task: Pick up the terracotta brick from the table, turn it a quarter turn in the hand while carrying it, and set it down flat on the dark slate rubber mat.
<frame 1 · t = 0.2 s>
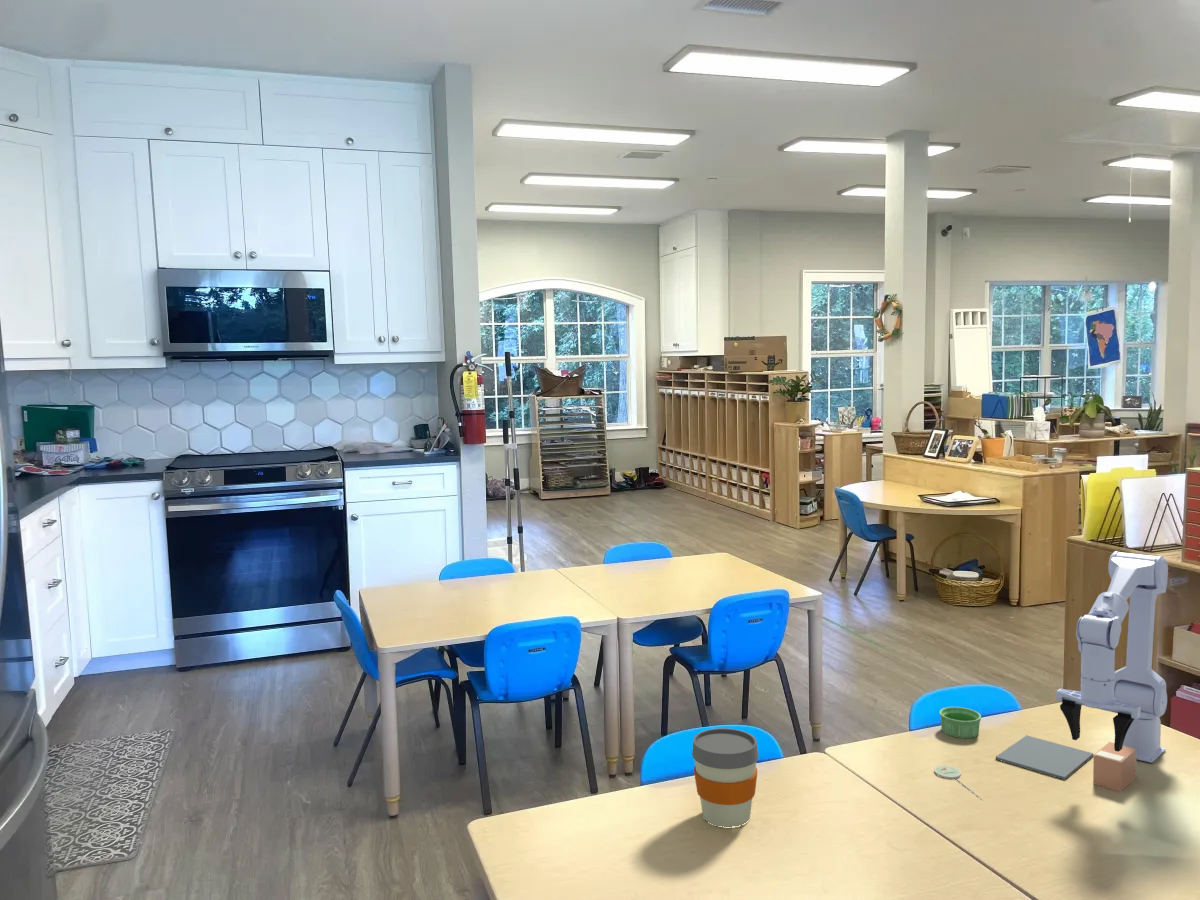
hand: (1096, 744, 171), 10 cm above the table, tool pointing down, fingers open, 7 cm apart
mat: (1044, 757, 187), on the table
ramekin: (960, 732, 203), on the table
sign: (961, 786, 177), on the table
brick: (1114, 780, 176), on the table
reusable coffee cup: (726, 817, 166), on the table
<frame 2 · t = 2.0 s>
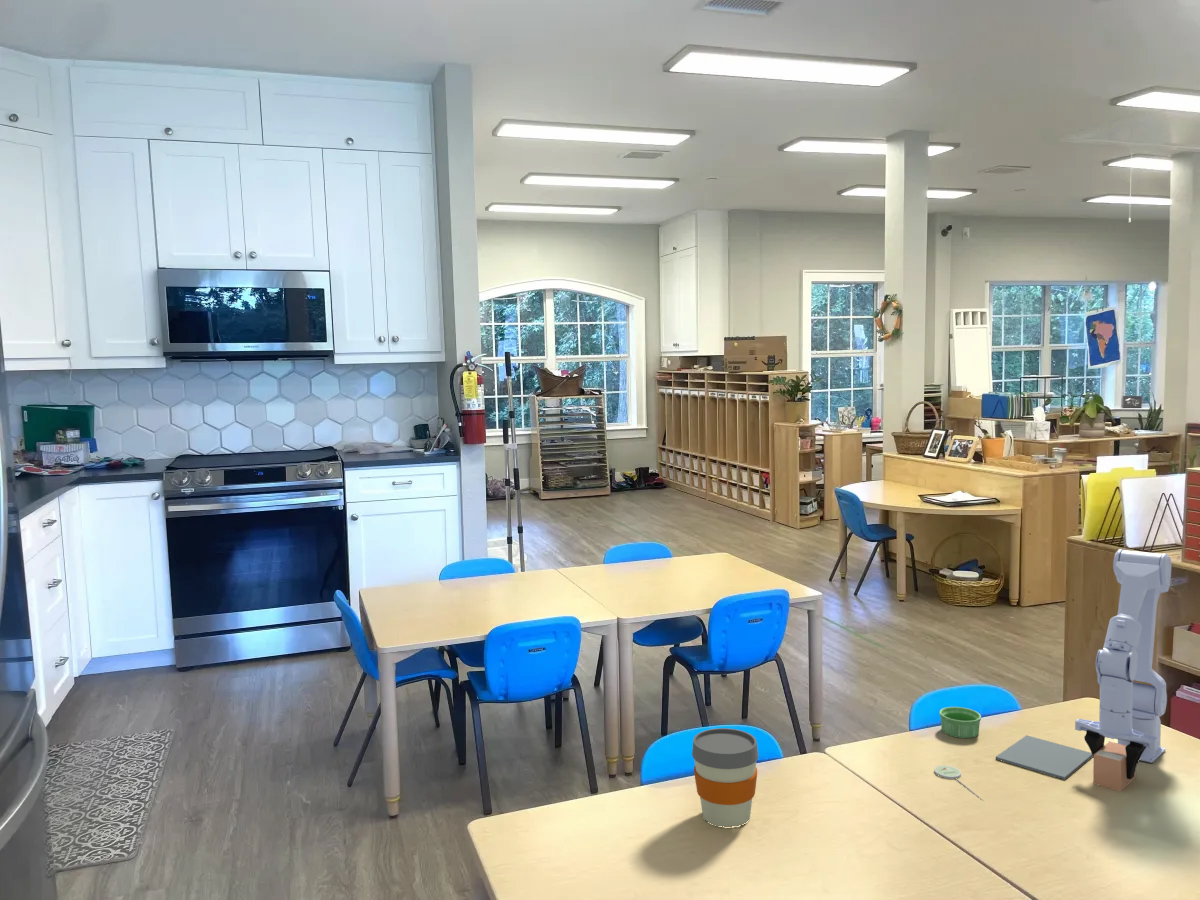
hand: (1114, 773, 176), 1 cm above the table, tool pointing down, fingers closed on brick, 5 cm apart
brick: (1114, 780, 176), on the table, touching gripper
everything else where it was.
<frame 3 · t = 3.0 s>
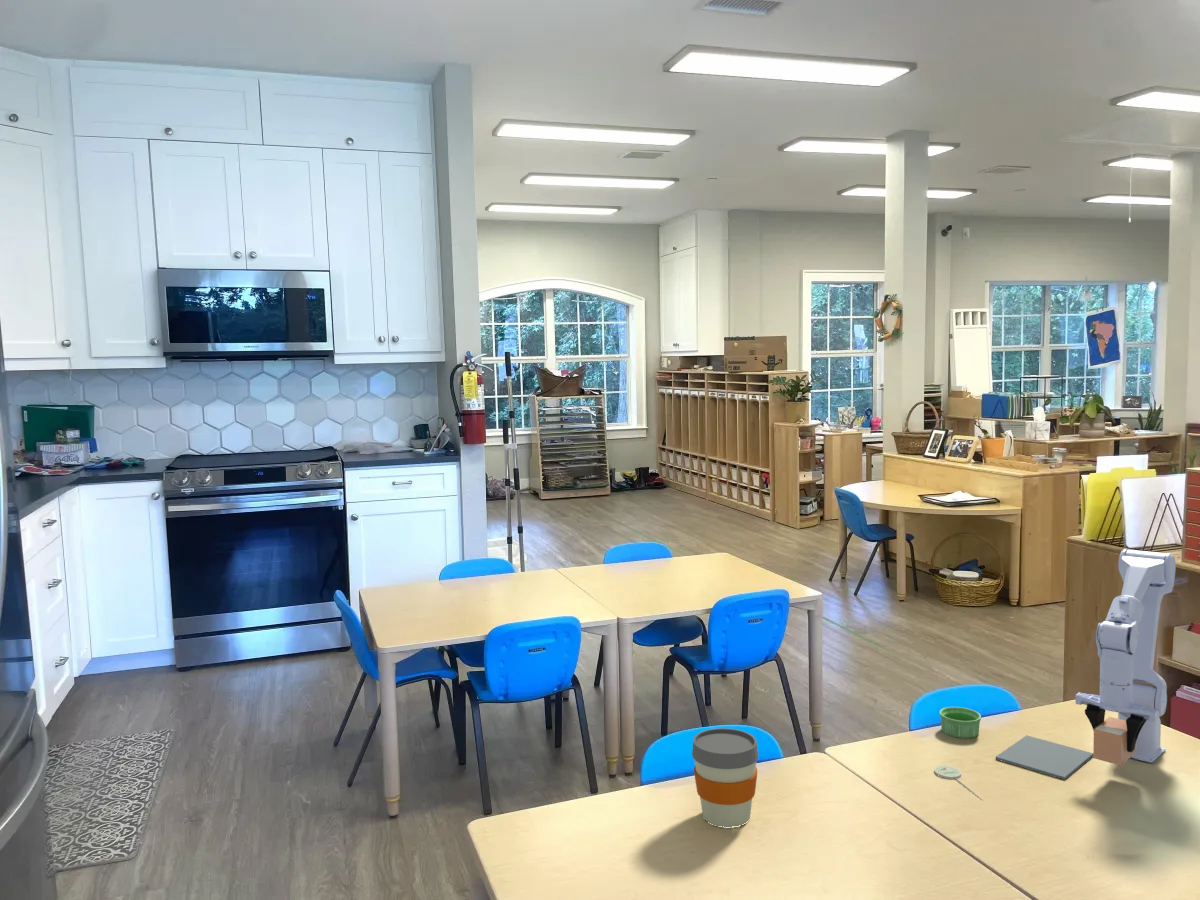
hand: (1115, 746, 176), 7 cm above the table, tool pointing down, fingers closed on brick, 5 cm apart
brick: (1114, 754, 176), point 5 cm above the table, touching gripper
everything else where it was.
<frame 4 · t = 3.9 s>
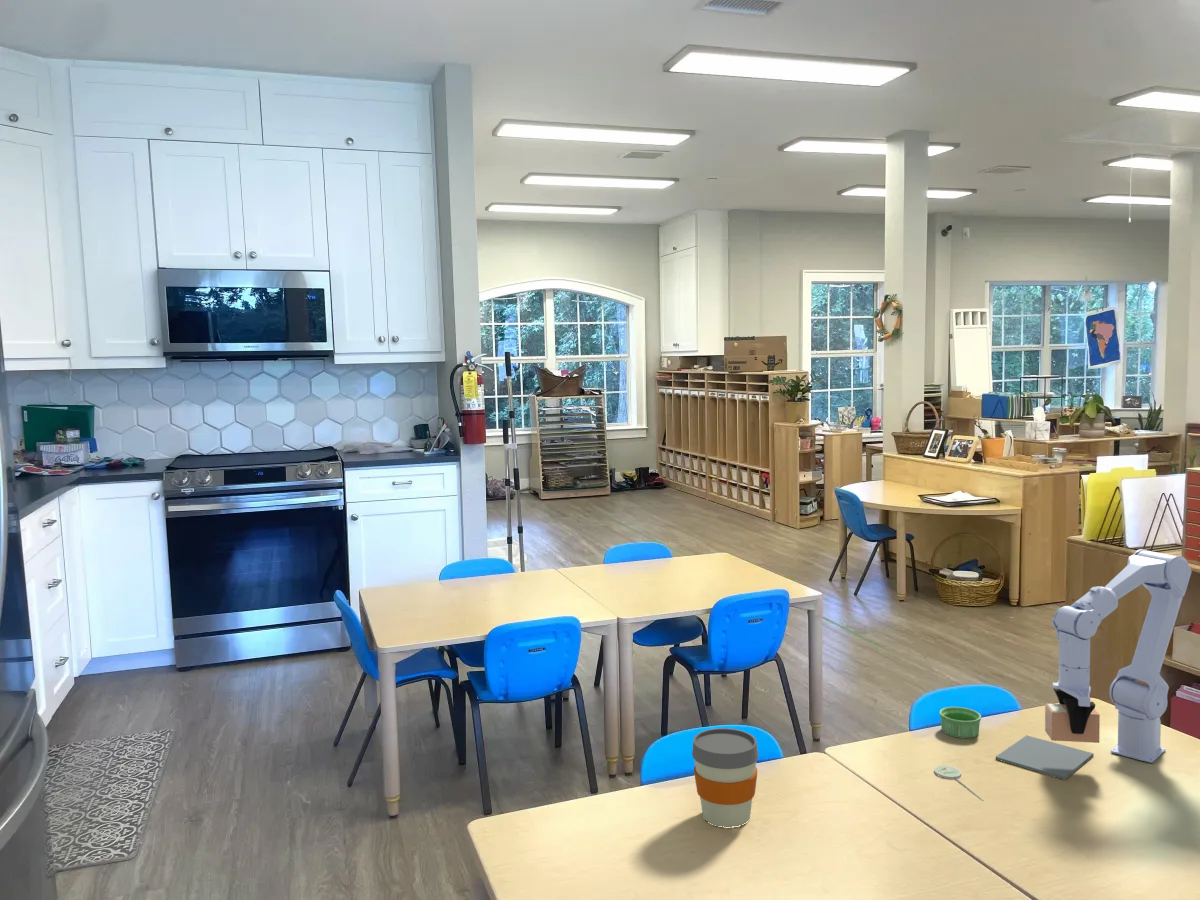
hand: (1073, 727, 182), 8 cm above the table, tool pointing down, fingers closed on brick, 5 cm apart
brick: (1071, 736, 182), point 6 cm above the table, touching gripper
everything else where it was.
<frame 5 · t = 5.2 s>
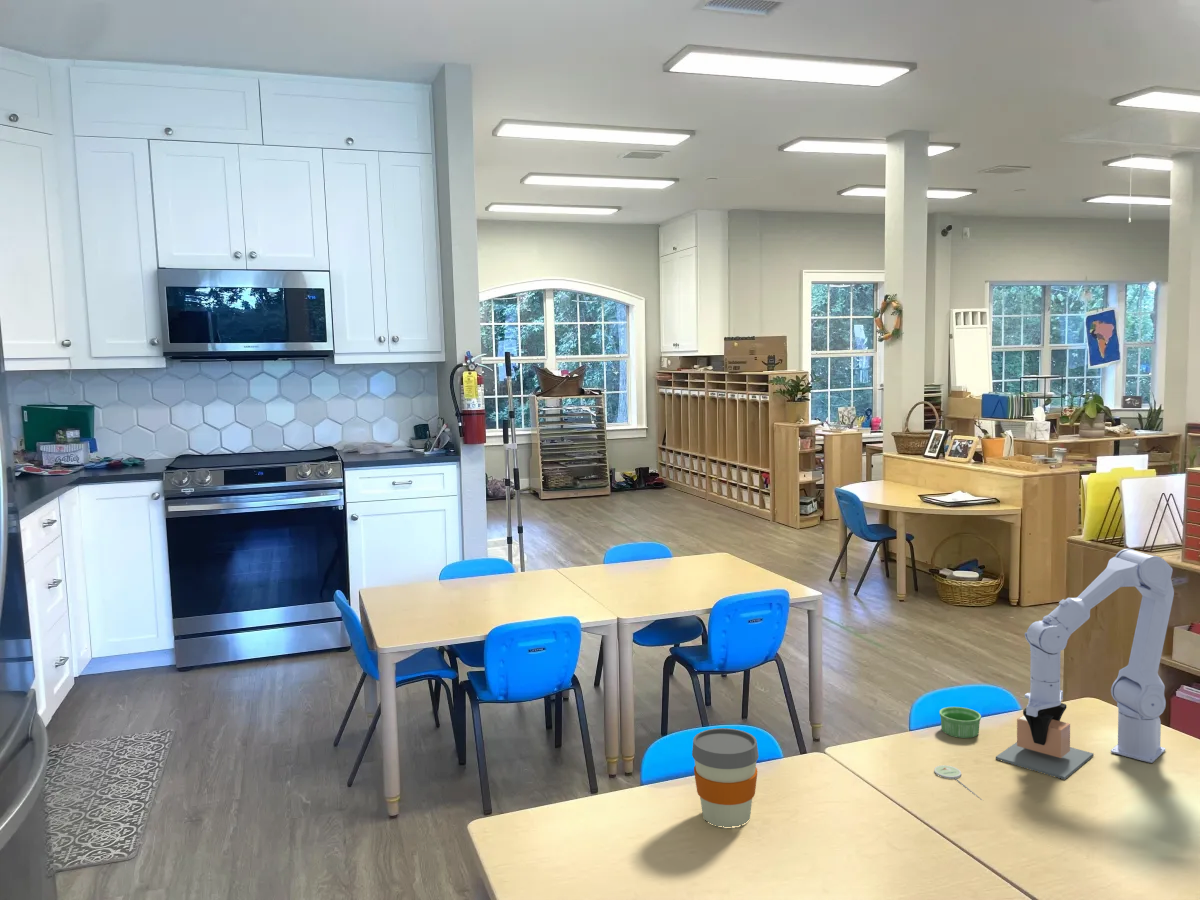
hand: (1044, 739, 187), 4 cm above the table, tool pointing down, fingers closed on brick, 5 cm apart
brick: (1043, 748, 187), point 2 cm above the table, touching gripper
everything else where it was.
when the fingers open (3 cm above the table, at t = 6.2 s): brick stays where it is, resting on mat.
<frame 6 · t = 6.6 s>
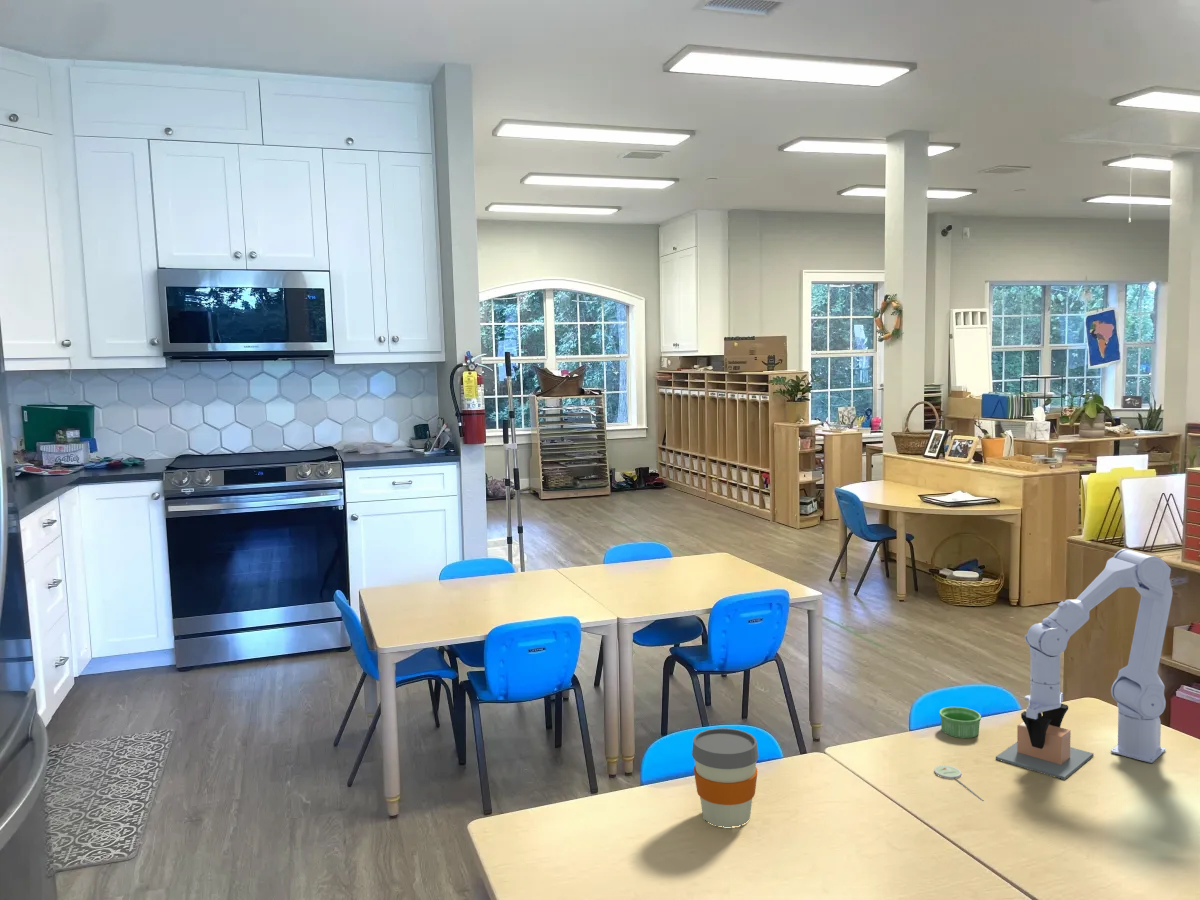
hand: (1044, 741, 187), 4 cm above the table, tool pointing down, fingers open, 7 cm apart
brick: (1043, 754, 188), point 1 cm above the table, touching mat
everything else where it was.
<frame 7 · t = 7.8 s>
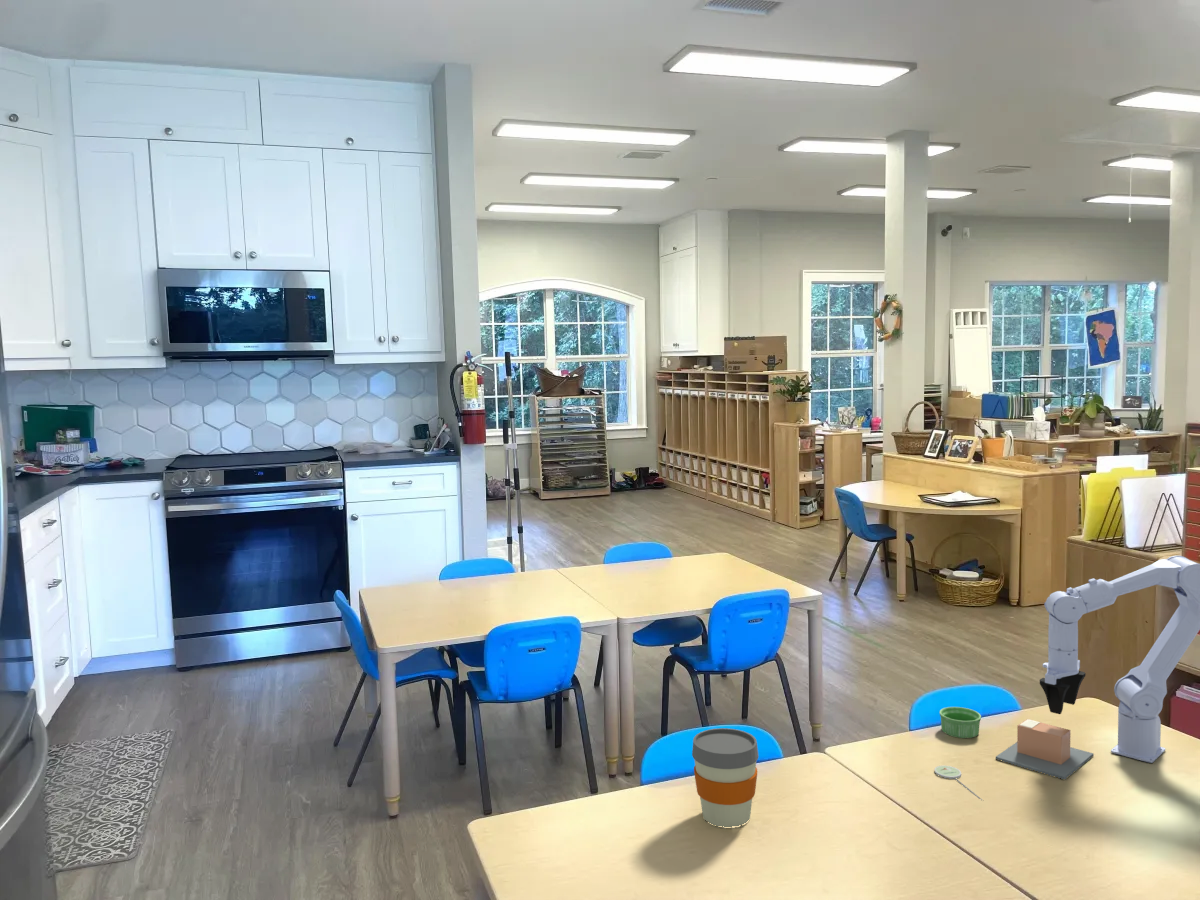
hand: (1062, 708, 191), 9 cm above the table, tool pointing down, fingers open, 7 cm apart
nothing on the table moved.
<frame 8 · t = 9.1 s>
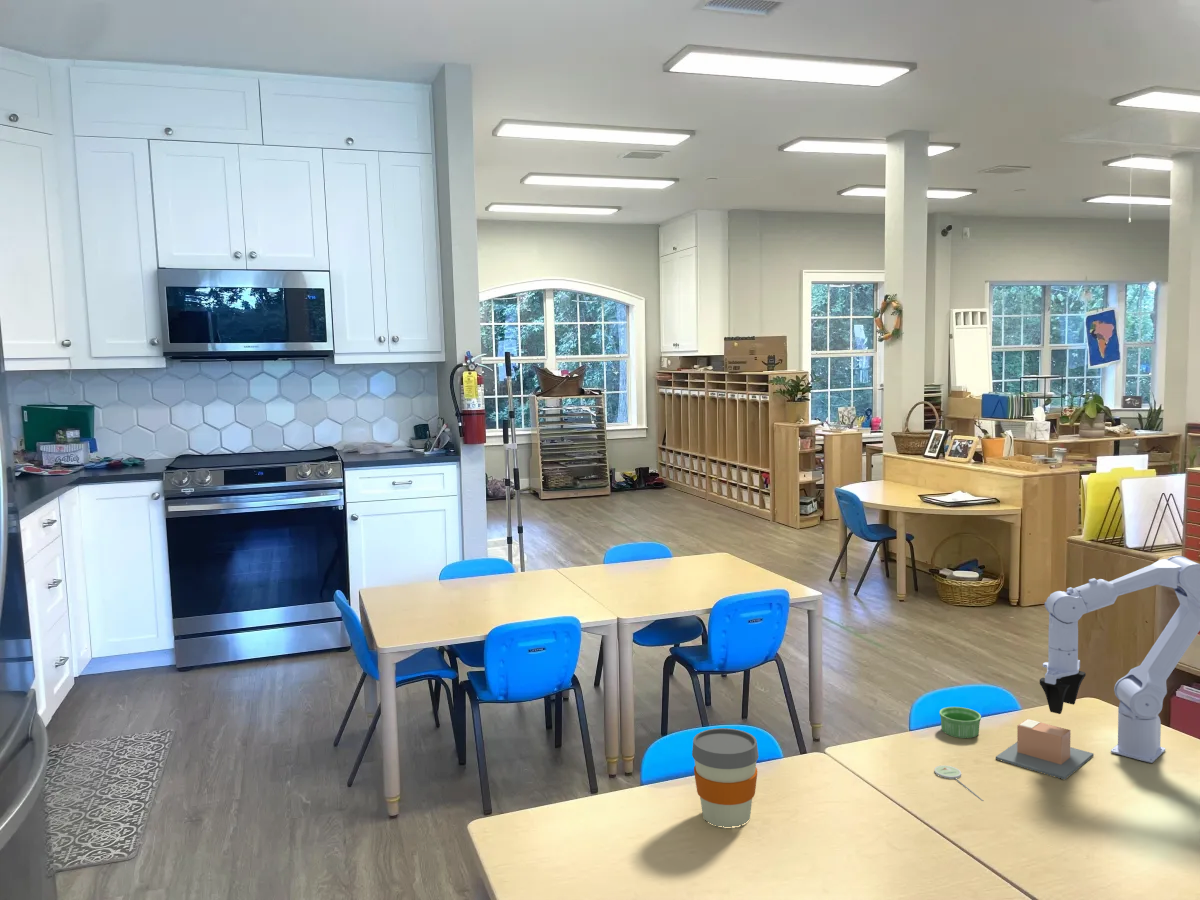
hand: (1062, 707, 191), 9 cm above the table, tool pointing down, fingers open, 7 cm apart
nothing on the table moved.
at the end: brick inside the target area on the mat (0.2 cm from its centre), point 0.6 cm above the mat's base; brick tilted 0°; the gripper is holding nothing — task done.
